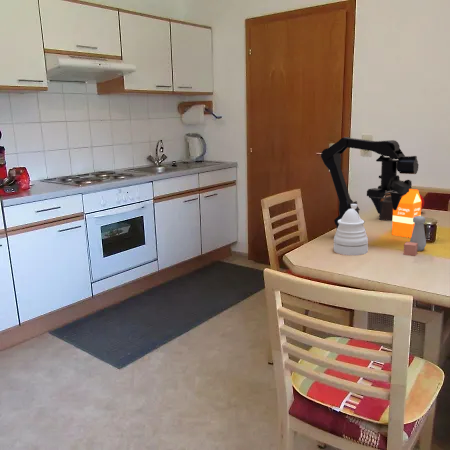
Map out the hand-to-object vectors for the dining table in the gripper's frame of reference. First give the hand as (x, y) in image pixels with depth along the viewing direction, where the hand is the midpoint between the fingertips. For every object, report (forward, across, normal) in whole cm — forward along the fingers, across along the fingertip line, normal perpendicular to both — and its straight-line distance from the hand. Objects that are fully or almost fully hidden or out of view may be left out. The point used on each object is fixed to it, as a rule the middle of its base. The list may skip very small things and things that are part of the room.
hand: (387, 211), depth 180 cm
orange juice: (+13, +17, +4) cm, 22 cm away
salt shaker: (+13, +2, -13) cm, 19 cm away
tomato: (+13, +55, +29) cm, 63 cm away
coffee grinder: (+13, +35, +26) cm, 46 cm away
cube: (+13, -5, -15) cm, 20 cm away
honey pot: (+13, -18, +2) cm, 23 cm away
